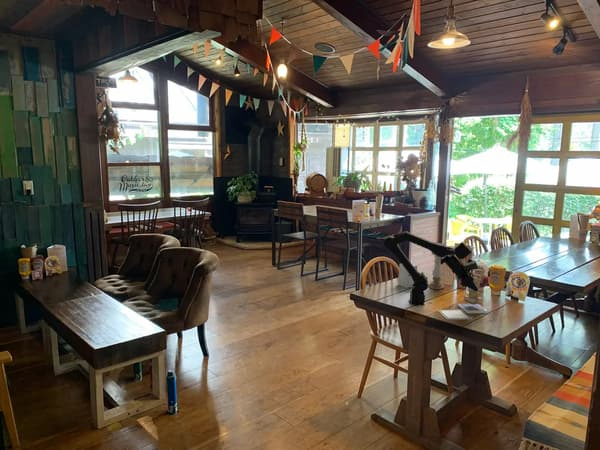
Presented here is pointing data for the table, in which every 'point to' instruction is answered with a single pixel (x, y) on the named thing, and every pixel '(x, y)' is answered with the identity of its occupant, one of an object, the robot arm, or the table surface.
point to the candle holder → (436, 275)
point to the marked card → (454, 314)
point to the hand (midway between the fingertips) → (476, 289)
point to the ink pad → (472, 308)
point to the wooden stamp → (473, 294)
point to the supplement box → (405, 277)
